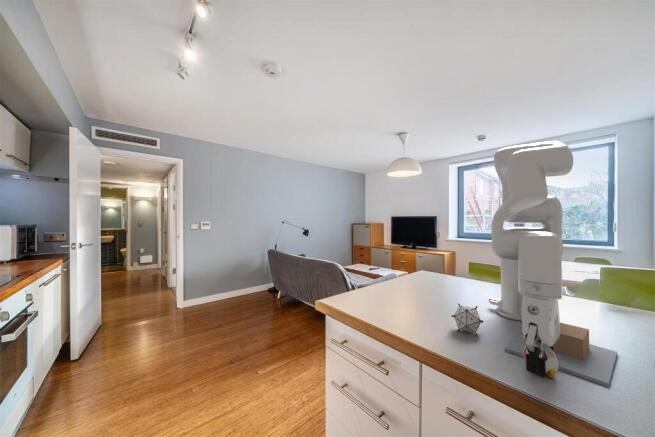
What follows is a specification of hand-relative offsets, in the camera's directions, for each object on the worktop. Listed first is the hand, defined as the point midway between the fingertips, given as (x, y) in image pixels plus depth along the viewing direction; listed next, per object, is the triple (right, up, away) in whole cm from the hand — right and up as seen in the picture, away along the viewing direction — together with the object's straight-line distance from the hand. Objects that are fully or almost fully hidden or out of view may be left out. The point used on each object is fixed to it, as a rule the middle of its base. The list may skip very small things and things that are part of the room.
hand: (540, 367), depth 56 cm
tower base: (+12, -1, +8) cm, 14 cm away
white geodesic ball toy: (-5, -1, +20) cm, 21 cm away
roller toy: (0, -1, 0) cm, 1 cm away
